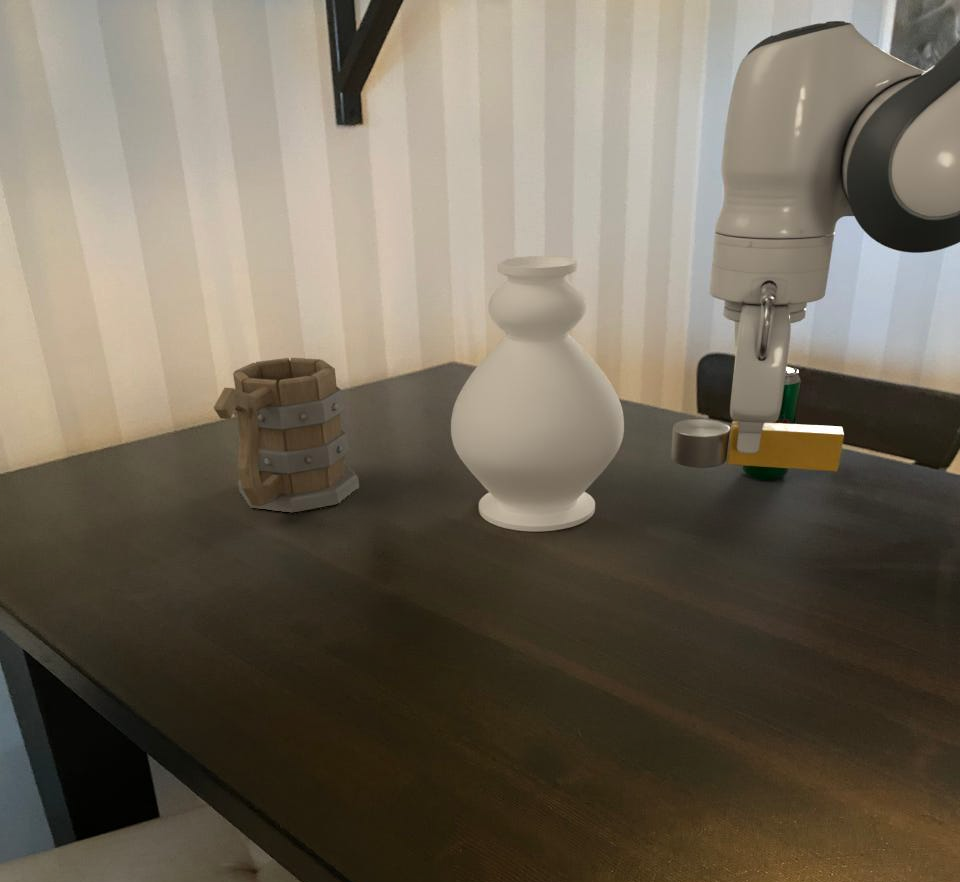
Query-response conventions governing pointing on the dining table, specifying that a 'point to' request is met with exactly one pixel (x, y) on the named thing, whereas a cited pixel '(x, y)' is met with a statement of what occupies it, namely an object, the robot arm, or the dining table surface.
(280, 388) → the tankard
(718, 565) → the dining table surface
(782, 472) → the soda can
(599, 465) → the decorative vase
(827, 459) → the silver puck with tab
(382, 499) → the dining table surface
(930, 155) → the robot arm
